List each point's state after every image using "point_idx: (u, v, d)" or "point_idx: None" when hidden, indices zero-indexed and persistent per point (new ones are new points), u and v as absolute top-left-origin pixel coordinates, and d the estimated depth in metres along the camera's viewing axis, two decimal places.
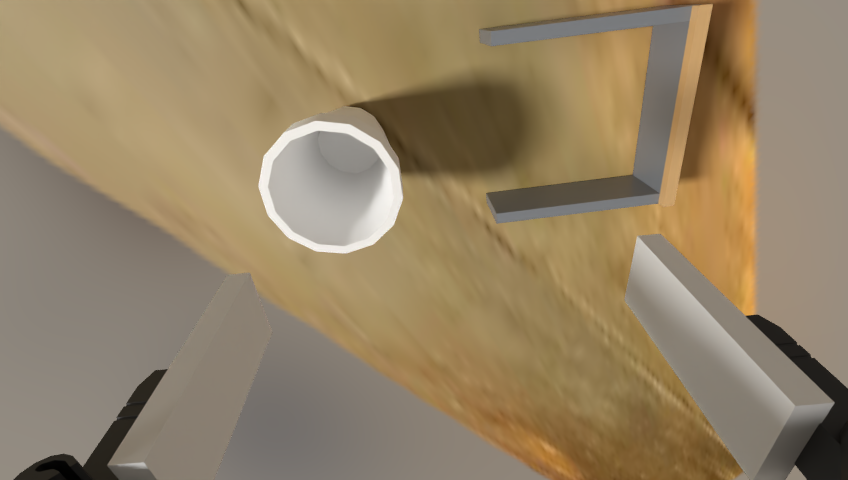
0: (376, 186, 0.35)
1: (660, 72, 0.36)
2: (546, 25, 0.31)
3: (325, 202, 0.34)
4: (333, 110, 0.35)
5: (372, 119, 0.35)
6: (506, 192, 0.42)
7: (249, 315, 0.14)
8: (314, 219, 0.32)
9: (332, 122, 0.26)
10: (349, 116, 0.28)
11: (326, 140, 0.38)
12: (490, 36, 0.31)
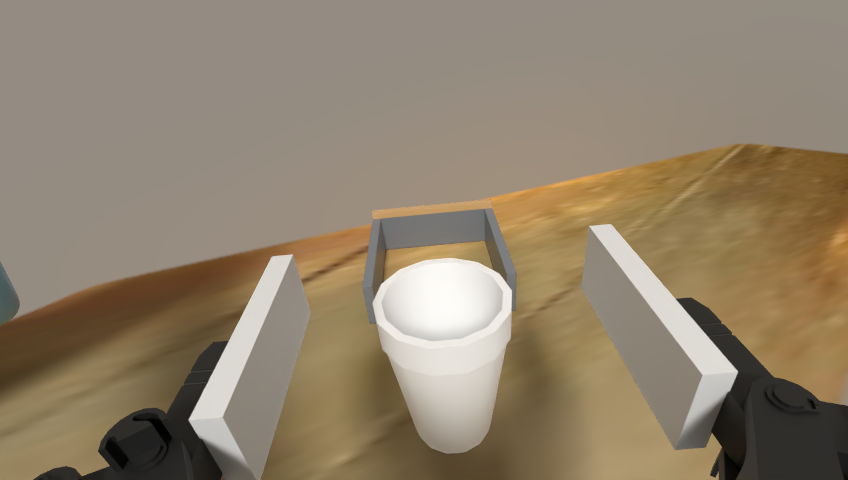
0: None
1: (412, 234, 0.57)
2: (366, 264, 0.47)
3: None
4: None
5: None
6: None
7: (293, 294, 0.14)
8: None
9: (377, 294, 0.29)
10: None
11: None
12: (366, 289, 0.43)
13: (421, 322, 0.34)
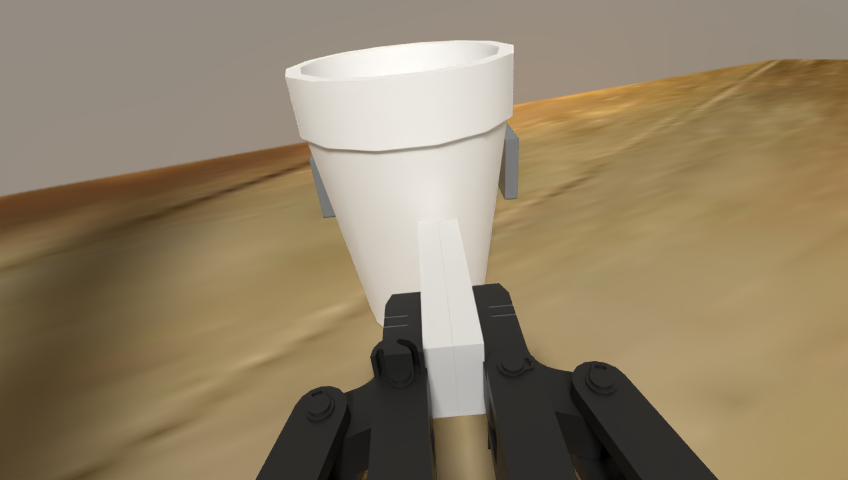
0: None
1: None
2: None
3: None
4: None
5: None
6: (500, 184, 0.36)
7: None
8: None
9: None
10: None
11: None
12: (314, 162, 0.32)
13: None
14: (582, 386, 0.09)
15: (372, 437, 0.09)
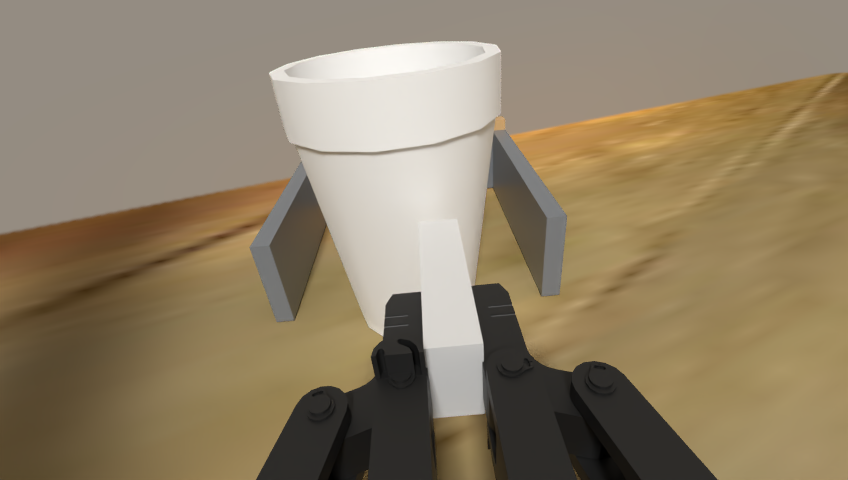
0: None
1: None
2: (273, 209, 0.25)
3: None
4: (345, 269, 0.21)
5: None
6: (532, 269, 0.25)
7: None
8: None
9: (278, 70, 0.18)
10: None
11: None
12: (258, 250, 0.21)
13: None
14: (581, 386, 0.09)
15: (373, 437, 0.09)
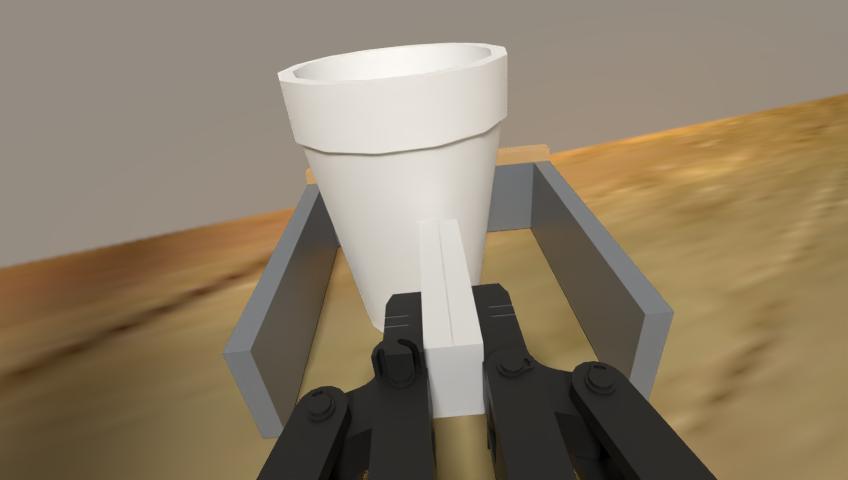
0: None
1: None
2: (259, 282, 0.18)
3: None
4: None
5: None
6: (605, 362, 0.19)
7: None
8: None
9: (287, 70, 0.18)
10: None
11: None
12: (234, 356, 0.15)
13: None
14: (581, 386, 0.09)
15: (373, 437, 0.09)
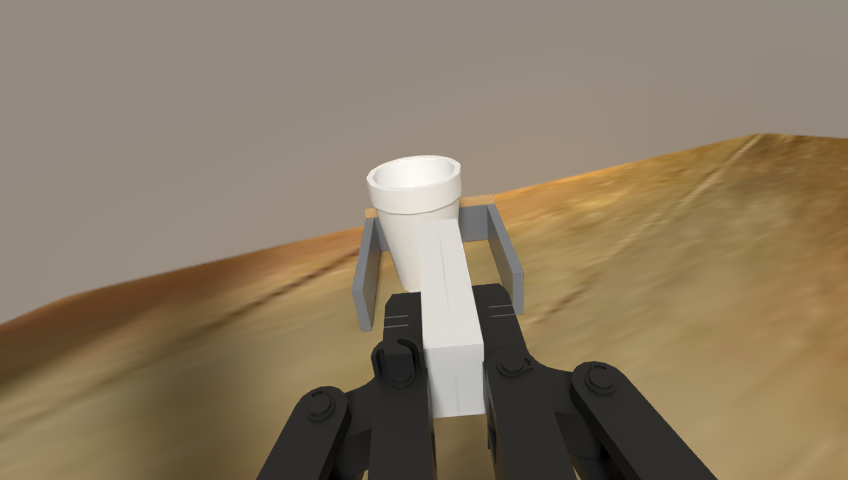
0: None
1: None
2: (357, 266, 0.42)
3: None
4: (393, 260, 0.46)
5: None
6: None
7: None
8: None
9: (368, 175, 0.42)
10: None
11: None
12: (355, 292, 0.39)
13: None
14: (581, 386, 0.09)
15: (372, 437, 0.09)
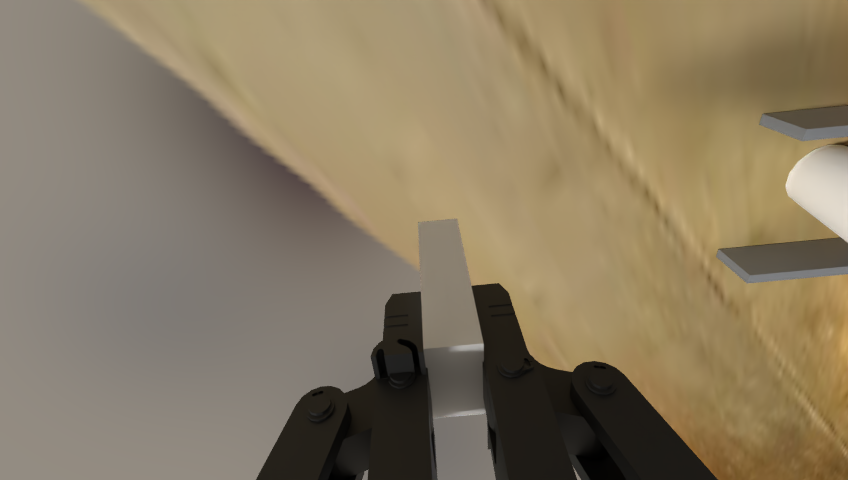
0: None
1: None
2: None
3: None
4: None
5: None
6: (739, 249, 0.46)
7: None
8: None
9: None
10: None
11: None
12: (802, 132, 0.35)
13: None
14: (581, 386, 0.09)
15: (373, 437, 0.09)
